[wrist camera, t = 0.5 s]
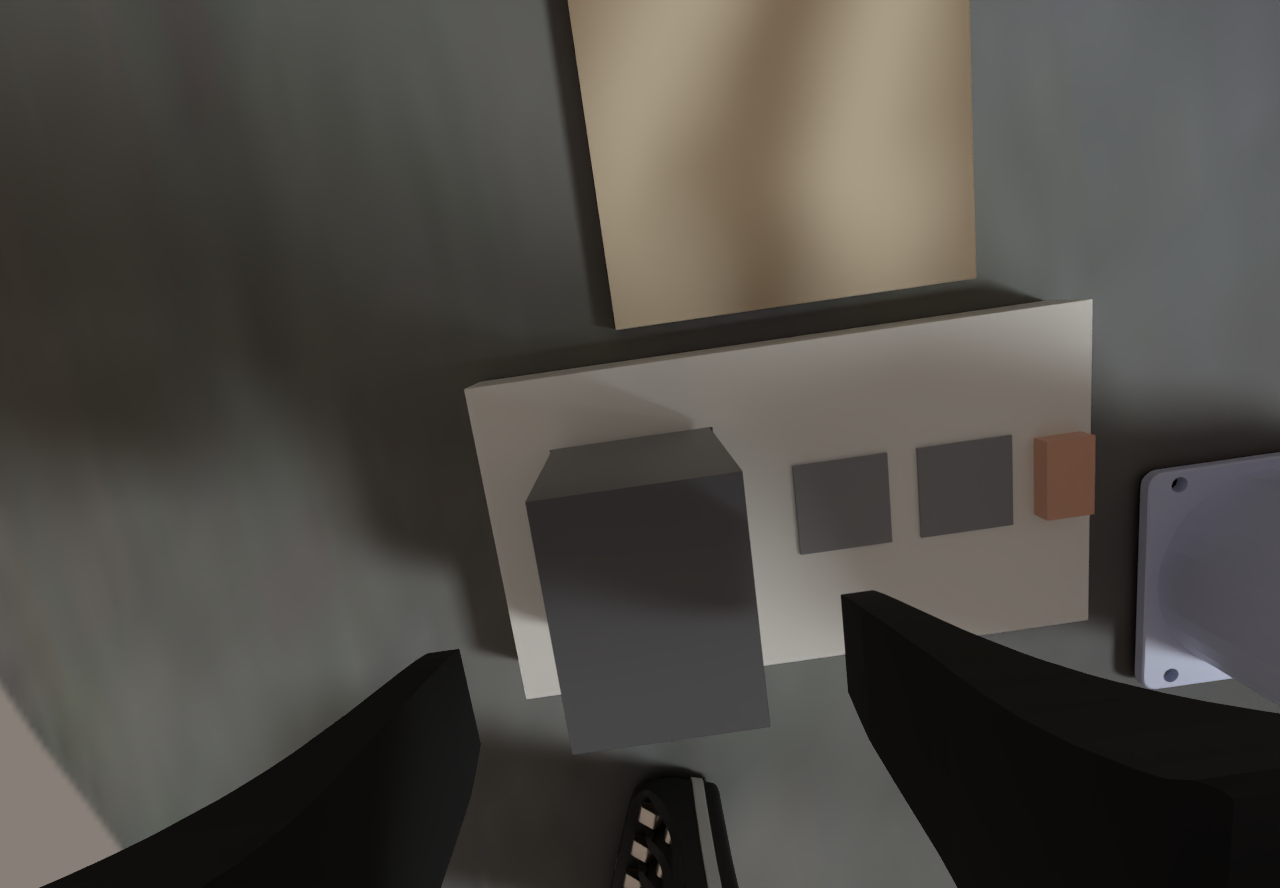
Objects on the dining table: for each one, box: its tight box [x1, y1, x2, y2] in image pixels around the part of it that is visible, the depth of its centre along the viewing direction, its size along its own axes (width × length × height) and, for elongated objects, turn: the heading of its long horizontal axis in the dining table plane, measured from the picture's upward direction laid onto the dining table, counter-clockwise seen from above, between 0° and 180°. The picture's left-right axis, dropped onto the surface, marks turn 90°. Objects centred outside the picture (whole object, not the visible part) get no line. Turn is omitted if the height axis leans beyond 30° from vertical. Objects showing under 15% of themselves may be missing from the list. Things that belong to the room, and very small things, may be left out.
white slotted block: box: [464, 299, 1096, 699], centre depth 19 cm, size 18×10×3 cm, turn 98°
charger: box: [525, 427, 770, 755], centre depth 17 cm, size 4×6×8 cm
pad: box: [568, 0, 976, 330], centre depth 18 cm, size 11×11×1 cm
